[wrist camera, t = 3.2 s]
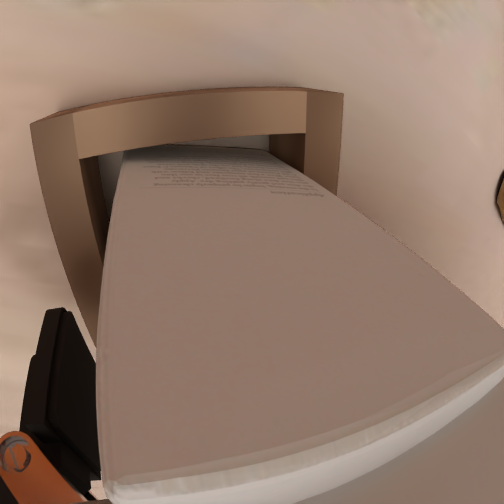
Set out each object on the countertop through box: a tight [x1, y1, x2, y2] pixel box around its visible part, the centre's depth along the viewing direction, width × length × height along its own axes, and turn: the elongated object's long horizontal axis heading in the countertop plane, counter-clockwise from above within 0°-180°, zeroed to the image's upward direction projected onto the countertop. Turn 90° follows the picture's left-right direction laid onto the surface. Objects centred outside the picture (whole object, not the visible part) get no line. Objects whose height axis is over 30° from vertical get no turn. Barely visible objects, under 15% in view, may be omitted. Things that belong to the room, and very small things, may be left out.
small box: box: [96, 145, 504, 504], centre depth 10 cm, size 8×6×13 cm
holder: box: [30, 87, 344, 348], centre depth 14 cm, size 11×13×4 cm
